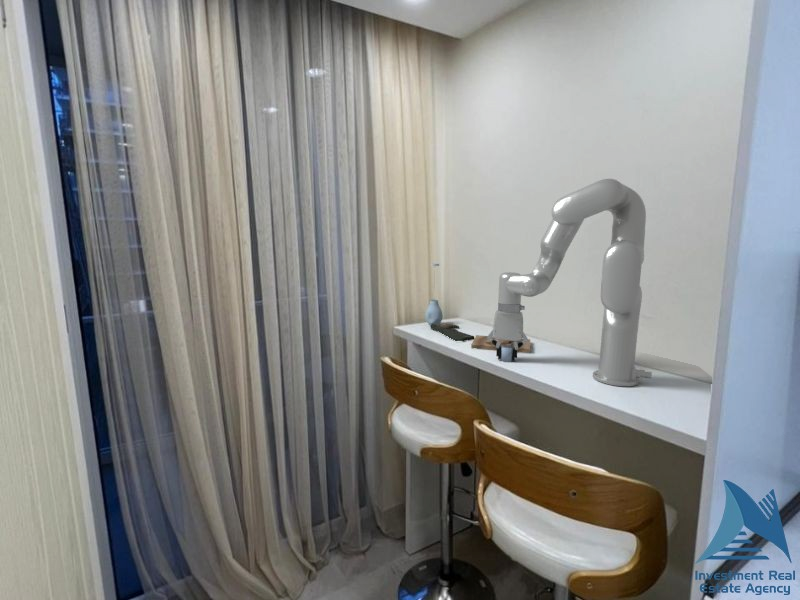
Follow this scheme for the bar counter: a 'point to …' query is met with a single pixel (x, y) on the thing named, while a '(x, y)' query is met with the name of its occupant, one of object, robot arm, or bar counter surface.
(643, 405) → the bar counter surface
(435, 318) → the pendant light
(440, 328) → the firearm
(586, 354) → the bar counter surface
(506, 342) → the tan rounded lump
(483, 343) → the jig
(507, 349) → the blue-grey rounded cylinder
